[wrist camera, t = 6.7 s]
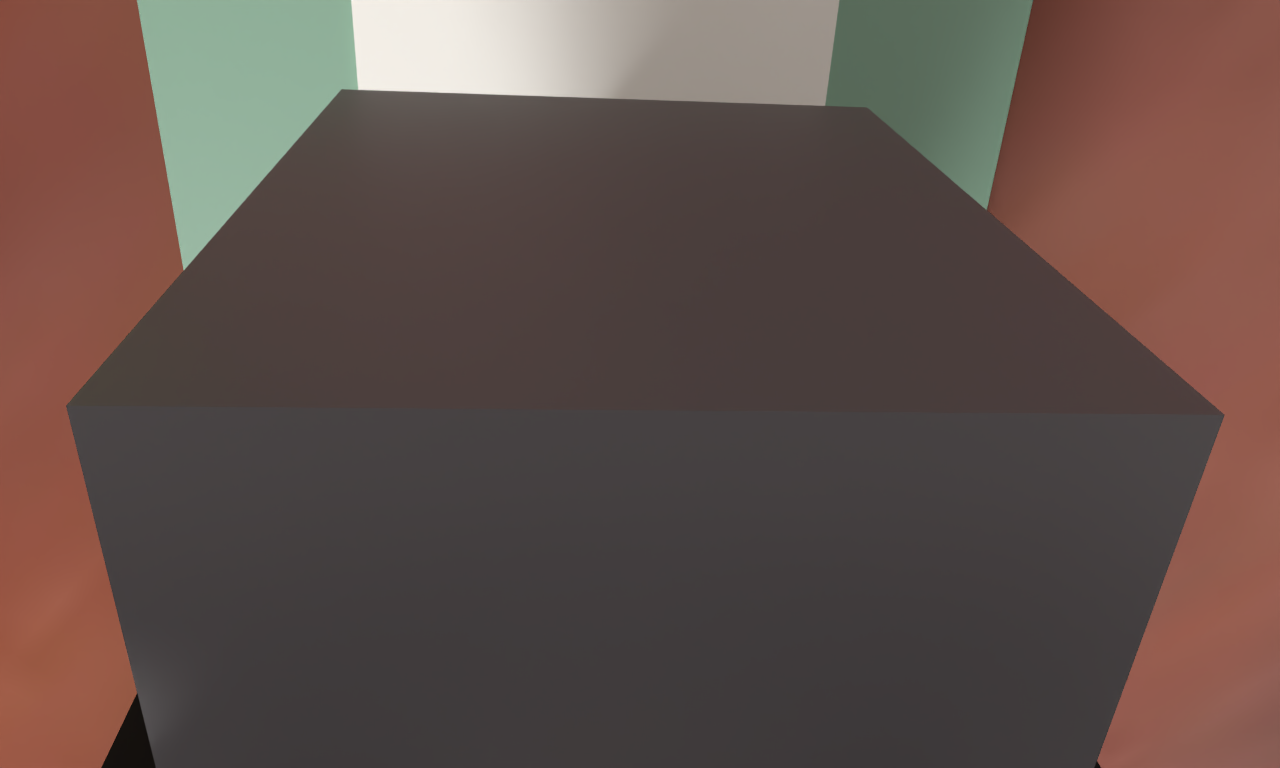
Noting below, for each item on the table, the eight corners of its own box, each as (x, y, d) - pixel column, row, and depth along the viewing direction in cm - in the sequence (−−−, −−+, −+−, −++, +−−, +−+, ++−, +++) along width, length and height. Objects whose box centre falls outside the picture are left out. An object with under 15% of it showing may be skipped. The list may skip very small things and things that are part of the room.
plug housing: (866, 107, 10) (1251, 437, 4) (759, 811, 15) (880, 1393, 9) (341, 89, 9) (43, 430, 4) (405, 820, 14) (309, 1437, 9)
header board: (1018, -91, 16) (1218, -60, 11) (881, 574, 22) (971, 779, 17) (145, -138, 15) (-53, -126, 10) (259, 578, 21) (172, 799, 16)
